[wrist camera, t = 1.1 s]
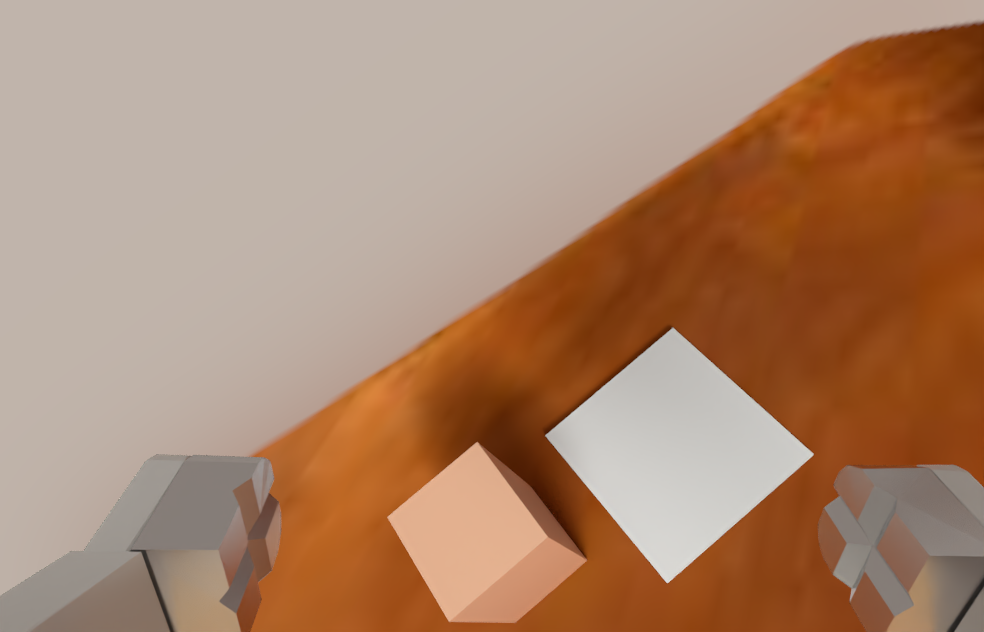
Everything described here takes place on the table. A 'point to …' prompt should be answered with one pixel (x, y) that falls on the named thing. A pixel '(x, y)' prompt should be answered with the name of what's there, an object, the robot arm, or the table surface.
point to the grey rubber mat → (676, 452)
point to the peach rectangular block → (484, 540)
